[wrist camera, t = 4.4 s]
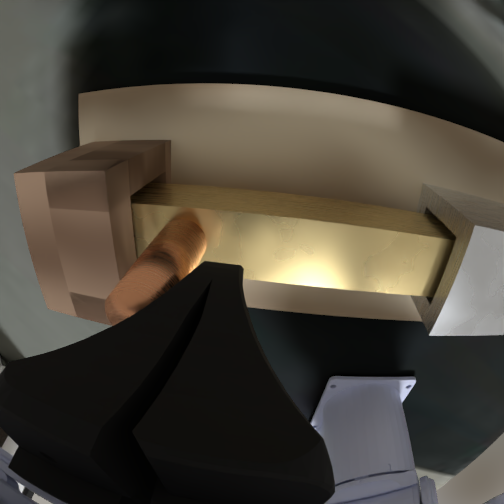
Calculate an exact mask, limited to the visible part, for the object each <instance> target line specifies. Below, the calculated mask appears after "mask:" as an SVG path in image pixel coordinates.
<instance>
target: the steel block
mask: <svg viewBox="0 0 504 504" xmlns="http://www.w3.org/2000/svg"><path fill="white" fill-rule="evenodd" d="M416 212H418V213H423V214H429V215H434V216H436V217H437V218H438V219H439V220H440V221H442V222H443V223H444V224H445V225H446V226H447V227H448V228H449V229H450V230H451V231H452V233H453V234H454V235H455V236H456V237H457V238H456V241H455V244H454V247H453V250H452V253H451V255H450V258H449V261H448V264H447V266H446V269H445V271H444V274H443V277H442V279H441V282H440V284H439V286H438V289H437V291H436V294H435V296H434V297H427V296H414V295H410V296H411V298H412V300H413V302H414V304H415V306H416V308H417V310H418V313H419V315H420V317H421V319H422V321H423V323H424V326H425V328H426V330H427V332H428V335H430V336H474V335H504V204H502V203H499V202H495V201H492V200H489V199H485V198H481V197H478V196H474V195H470V194H467V193H463V192H459V191H455V190H451V189H447V188H442V187H438V186H434V185H429V184H425V183H423V186H422V191H421V195H420V199H419V203H418V207H417V211H416Z"/></svg>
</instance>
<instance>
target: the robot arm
mask: <svg viewBox="0 0 504 504" xmlns="http://www.w3.org/2000/svg"><path fill="white" fill-rule="evenodd" d="M243 274H244V268H243V267H242V266H241V265H235V264H227V263H218V262H210V261H204V262H202V263H201V264H200V265H199V266H197V267H196V268H195V269H194V270H192V271H191V272H190V273H189V274H188V275H187V276H185V277H184V278H183V279H182V280H180V281H179V282H178V283H177V284H175V285H174V286H173V287H172V288H170V289H169V290H168V291H167V292H165V293H164V294H163V295H161V296H160V297H159V298H157V299H156V300H154V301H153V302H151V303H150V304H149V305H147V306H146V307H144V308H143V309H141V310H140V311H138V312H137V313H135V314H133V315H132V316H130V317H128V318H126V319H125V320H123V321H121V322H119V323H118V324H116V325H114V326H112V327H110V328H108V329H105V330H103V331H101V332H99V333H97V334H95V335H93V336H91V337H88V338H86V339H84V340H81V341H79V342H76V343H74V344H71V345H69V346H66V347H63V348H60V349H57V350H54V351H51V352H47V353H44V354H40V355H36V356H32V357H28V358H24V359H20V360H16V361H11V362H9V363H8V364H7V365H6V367H5V368H4V369H3V371H2V372H1V374H0V427H1V428H2V430H3V431H4V432H5V433H6V434H7V435H8V436H9V437H10V438H11V439H12V440H13V441H14V442H15V443H16V444H17V445H18V448H17V450H16V452H15V454H14V456H12V455H11V454H9V453H8V452H6V451H5V450H4V449H2V448H1V447H0V504H38V503H37V502H35V501H33V500H32V499H30V498H28V497H27V496H25V495H24V494H22V493H21V491H20V489H19V485H18V483H20V484H21V485H23V486H24V487H26V488H27V489H29V490H31V491H32V492H34V493H35V494H37V495H39V496H41V497H42V498H44V499H46V500H48V501H49V502H51V503H53V504H438V499H437V493H436V487H435V482H434V480H433V479H430V478H428V477H427V476H424V477H421V478H420V485H419V480H418V476H417V473H416V470H415V465H414V459H413V454H412V449H411V443H410V438H409V434H408V429H407V424H406V420H405V415H404V411H403V406H402V402H403V401H404V399H405V398H406V396H407V395H408V393H409V392H410V390H411V389H412V387H413V386H414V384H415V383H416V379H415V377H353V376H332V377H331V378H329V380H328V382H327V385H326V387H325V390H324V392H323V395H322V397H321V399H320V402H319V404H318V406H317V409H316V411H315V413H314V416H313V418H312V420H311V422H309V421H308V420H307V419H306V417H305V416H304V415H303V414H302V412H301V411H300V410H299V409H298V407H297V406H296V404H295V403H294V402H293V400H292V399H291V398H290V396H289V395H288V393H287V392H286V390H285V389H284V387H283V385H282V384H281V382H280V380H279V379H278V377H277V376H276V374H275V372H274V371H273V369H272V367H271V365H270V364H269V362H268V360H267V358H266V356H265V354H264V352H263V350H262V347H261V345H260V343H259V341H258V338H257V336H256V333H255V331H254V328H253V325H252V322H251V319H250V316H249V313H248V309H247V305H246V301H245V296H244V291H243ZM16 481H17V482H18V483H17V482H16ZM420 487H421V489H420ZM420 491H421V492H420ZM484 504H504V493H502V494H500V495H498V496H496V497H494V498H492V499H490V500H489V501H487V502H485V503H484Z"/></svg>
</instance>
